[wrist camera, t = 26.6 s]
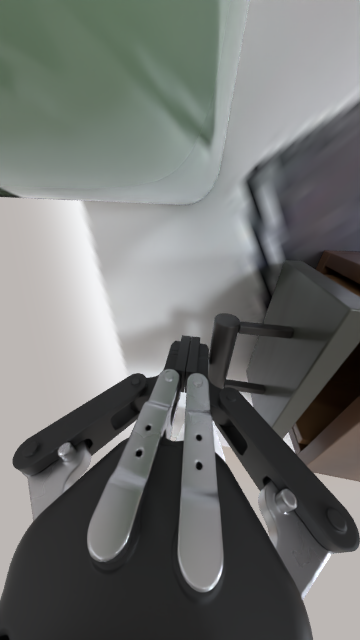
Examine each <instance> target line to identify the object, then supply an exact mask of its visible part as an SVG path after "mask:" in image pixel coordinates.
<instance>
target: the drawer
mask: <svg viewBox="0 0 360 640" xmlns="http://www.w3.org/2000/svg"><path fill="white" fill-rule="evenodd" d="M237 333H241V334H250V335H259V336H258V339H257V342H256V345H255V348H254V351H253V354H252V356H251V359H250V362H249V365H248V368H247V371H246V372H247V378H248V382H242V381H234V380H227V379H226V377H227V373H228V369H229V365H230V361H231V357H232V353H233V349H234V345H235V341H236V337H237ZM208 378H209V380H210V382H211V383H212V384H213V385H215V386H216V387H219V388H221V389H223V388H226V387H231V388H234V389H236V390H237V391H241V392H248V393H251V398H252V403H253V408H254V409H255V410H256V411H257V412H258V413H259V414H260V415H261V416H262V418H263V419H264V420H265V421H266V422H267V423H268V424H269V425H270V426H271V427H272V428H273V430H274V431H275V432H276V433H277V434H278V435H279V436H280V437H281V438H282V439H283V438H284V437H285V435H286V434H287V433H288V432H289V430H290V429H291V428H292V427H293V429H294V432H295V435H296V438H297V441H298V443H301V444H307V445H309V444H310V443H311V442H312V441H313V440H314V439H315V438H316V437H317V436H318V435H319V434H320V433H321V432H322V431H323V430H324V429H325V428H326V427H327V426H328V425H329V424H330V423H332V422H333V421H334V420H335V419H336V418H337V417H338V416H339V415H340V414H341V413H342V412H343V411H344V410H345V409H346V408H347V407H348V406H349V405H350V404H351V403H352V402H353V401H354V400H355V399H356V398H358V397H359V396H360V284H359V283H357V282H355V281H353V280H351V279H349V278H348V277H346V276H340V275H323V274H322V273H320V272H319V271H317V270H315V269H314V268H312V267H311V266H309V265H307V264H306V263H304V262H303V261H297V260H285V261H284V264H283V267H282V270H281V273H280V276H279V279H278V281H277V284H276V287H275V290H274V293H273V296H272V299H271V302H270V305H269V307H268V310H267V313H266V316H265V319H264V322H263V324H261V323H250V322H240V320H239V319H238V318H237V317H236V316H234V315H231V314H219V315H217V316H216V317H215V320H214V327H213V334H212V340H211V347H210V354H209V360H208Z"/></svg>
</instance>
